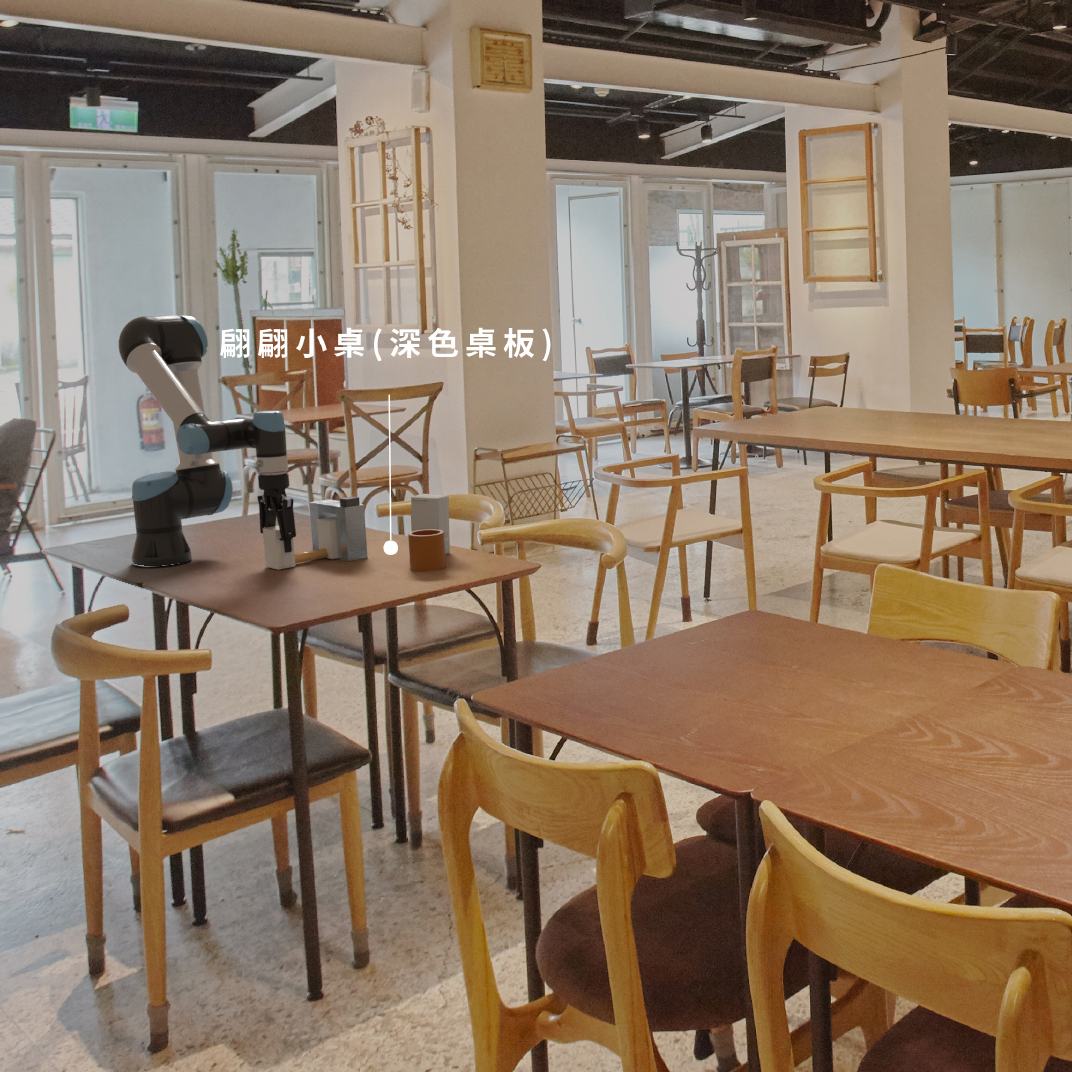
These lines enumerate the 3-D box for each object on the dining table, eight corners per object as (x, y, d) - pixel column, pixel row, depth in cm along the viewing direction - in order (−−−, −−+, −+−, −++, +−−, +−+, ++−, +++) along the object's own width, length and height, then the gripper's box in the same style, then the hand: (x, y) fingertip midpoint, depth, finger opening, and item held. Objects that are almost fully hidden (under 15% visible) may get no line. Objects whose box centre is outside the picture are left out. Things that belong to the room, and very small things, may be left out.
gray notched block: (313, 554, 325) (308, 494, 322) (332, 550, 329) (327, 492, 326) (348, 561, 313) (344, 500, 310) (367, 557, 317) (363, 496, 314)
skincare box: (412, 556, 317) (408, 497, 314) (423, 551, 323) (420, 493, 320) (440, 557, 313) (437, 497, 311) (452, 552, 319) (449, 493, 317)
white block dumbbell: (265, 566, 309) (262, 528, 308) (335, 553, 323) (332, 516, 321) (278, 569, 305) (274, 530, 303) (348, 556, 319) (345, 518, 317)
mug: (456, 562, 307) (454, 527, 305) (437, 572, 296) (436, 536, 294) (423, 560, 310) (421, 526, 308) (403, 571, 298) (402, 535, 297)
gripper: (240, 472, 309) (248, 561, 313) (279, 477, 295) (287, 570, 299) (266, 468, 314) (274, 556, 318) (306, 473, 300) (313, 565, 304)
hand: (280, 563), depth 309 cm, fingers closed on white block dumbbell, 6 cm apart
